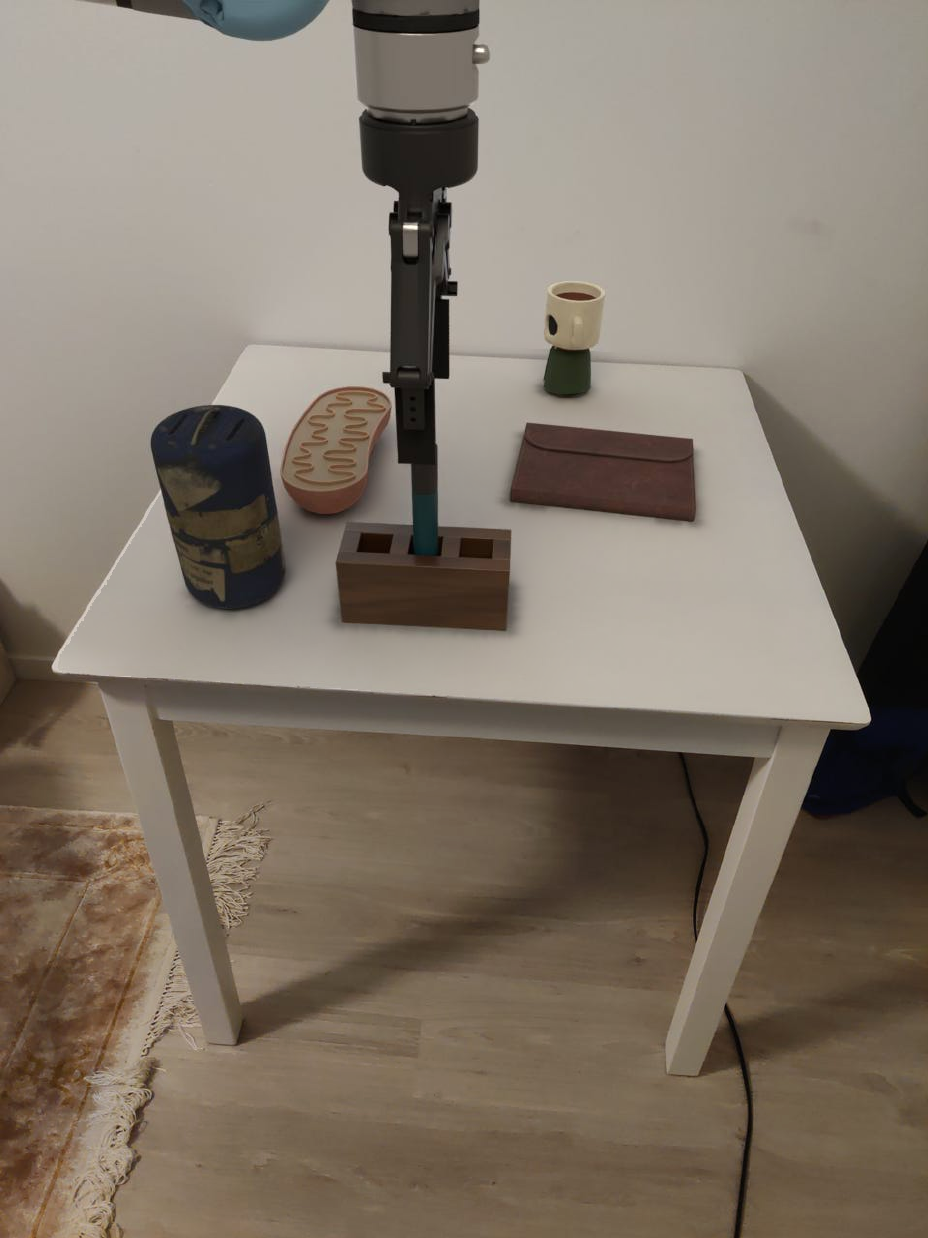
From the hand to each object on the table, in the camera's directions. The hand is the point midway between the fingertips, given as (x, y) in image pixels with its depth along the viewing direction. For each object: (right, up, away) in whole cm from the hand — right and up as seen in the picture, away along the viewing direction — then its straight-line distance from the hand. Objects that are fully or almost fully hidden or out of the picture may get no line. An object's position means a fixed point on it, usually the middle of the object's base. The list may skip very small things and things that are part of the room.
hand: (425, 416), depth 67 cm
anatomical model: (-11, +1, +30) cm, 32 cm away
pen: (0, -15, +13) cm, 20 cm away
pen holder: (0, -15, +13) cm, 20 cm away
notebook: (+19, 0, +30) cm, 36 cm away
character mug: (+17, +14, +46) cm, 51 cm away
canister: (-19, -13, +15) cm, 27 cm away
